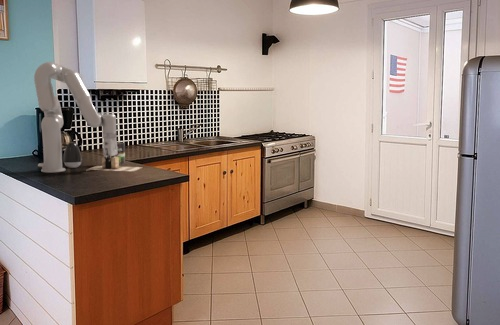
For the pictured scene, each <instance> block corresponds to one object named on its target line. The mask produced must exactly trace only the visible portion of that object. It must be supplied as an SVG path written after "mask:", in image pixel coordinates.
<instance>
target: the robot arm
mask: <svg viewBox="0 0 500 325" xmlns="http://www.w3.org/2000/svg"><path fill="white" fill-rule="evenodd" d="M33 78H34V85H35V91H36V96H37V97H36V98H37V102H38V108H39V109H40V110H41V111H42V112H43V113H44V117H43V118H42V120H41V124H40V128H41V135H42V147H43V148H42V150H43V151H42V153H43V162H41V163H38V164H37V167H38V168H41V170H40V171H41V172H42V173H52V174H53V173H61V172H62V173H63V172H65V171H66V168H65V167H63V148H62V147H63V145H62V144H63V142H62V131H61V130H62V128H63V126H64V116H63V113H62V107H61V103H60V100H59V99H58V97H56V96H55V93H54V87H53V84H52V79H53V80H56V81H58V82H60V83H63V84H65V85H66V87H67V88H68V90H69V91H70V94H71V95H72V97H73V100H74V101H75V103H76V105H77V107H78V109H79V111H80V113H81V115H82V117H83V118H84V121H85V122H86V124H87V125H88V126H89V127H91V128H94V129H95V128H98V127H102V139H103V145H102V146H103V147H102V151H103V152H102V153H103V157H104V158H105V167H106V168H111V161H110V159H111V156H112V157H115V155H117V154H118V149H117V142H118V140H117V116H116V115H115V114H112V113H105V114H100V113H98V112H97V110H96V108H95V106H94V105H93V104H94V103H93V100H92V98H91V94H90V92H89V90H88V88H87V87H86V85H85V83H84V81H83V77H82V75H81V74H80V73H79V72H78V71H76V70H72V69H70V68H68V67H65V66H63V65H60V64H58V63H55V62H52V61H45V62H43V63H42V64H40V65H39V66H38V67H37V68H36V70H35V72H34V77H33ZM108 155H109V156H108ZM108 157H109V158H108Z"/></svg>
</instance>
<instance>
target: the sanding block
mask: <svg viewBox="0 0 500 325" xmlns="http://www.w3.org/2000/svg"><path fill="white" fill-rule="evenodd" d="M108 158H109V157H108ZM110 161H111V168H118V167H120V165H119V157H111V159H110ZM101 166H102V168H106V167H105V158H104V156H103V157H101Z"/></svg>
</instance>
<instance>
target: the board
mask: <svg viewBox="0 0 500 325" xmlns="http://www.w3.org/2000/svg"><path fill="white" fill-rule="evenodd" d="M143 167H144V166H143ZM143 167H141V166H140V167H139V166H119V167H118V168H102V165H95V166H93V167H90V168H87V169H85V172H88V171H115V172H136V171H138V170H141V169H143Z"/></svg>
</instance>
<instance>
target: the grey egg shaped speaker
mask: <svg viewBox="0 0 500 325" xmlns="http://www.w3.org/2000/svg"><path fill="white" fill-rule="evenodd" d="M62 146H64V147H65V149H64V153H63V157H62V163H64V166H65V167H67V168H70V169H71V168H72V169H73V168H78V167H80V166H81V164H82V161H83V159H82V154H81V151H80V147H79V145H78V144H77V143H76V142H75V141H69V142H68V143H67V144H66V143H64V142H62Z"/></svg>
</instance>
